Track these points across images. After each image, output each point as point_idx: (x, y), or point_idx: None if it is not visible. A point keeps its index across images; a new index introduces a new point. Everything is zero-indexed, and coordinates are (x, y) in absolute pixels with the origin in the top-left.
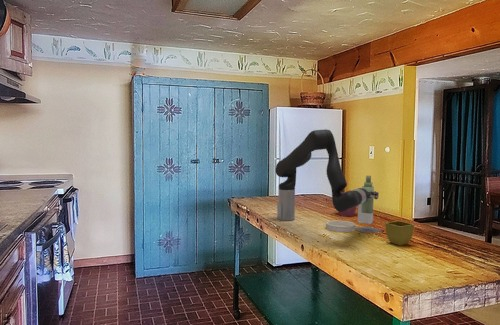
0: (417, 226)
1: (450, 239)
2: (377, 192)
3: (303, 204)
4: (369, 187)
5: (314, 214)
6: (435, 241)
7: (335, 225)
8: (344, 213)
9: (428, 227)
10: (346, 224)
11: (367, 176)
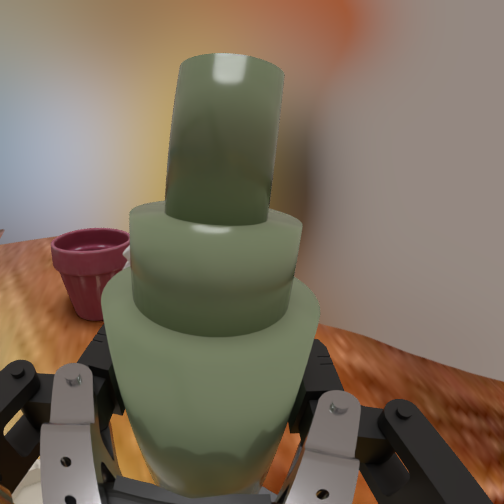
0: (347, 354)
1: (487, 416)
2: (411, 415)
3: (20, 255)
4: (275, 357)
5: (5, 320)
6: (491, 465)
7: (37, 488)
8: (87, 313)
9: (373, 349)
10: None
11: (220, 62)
